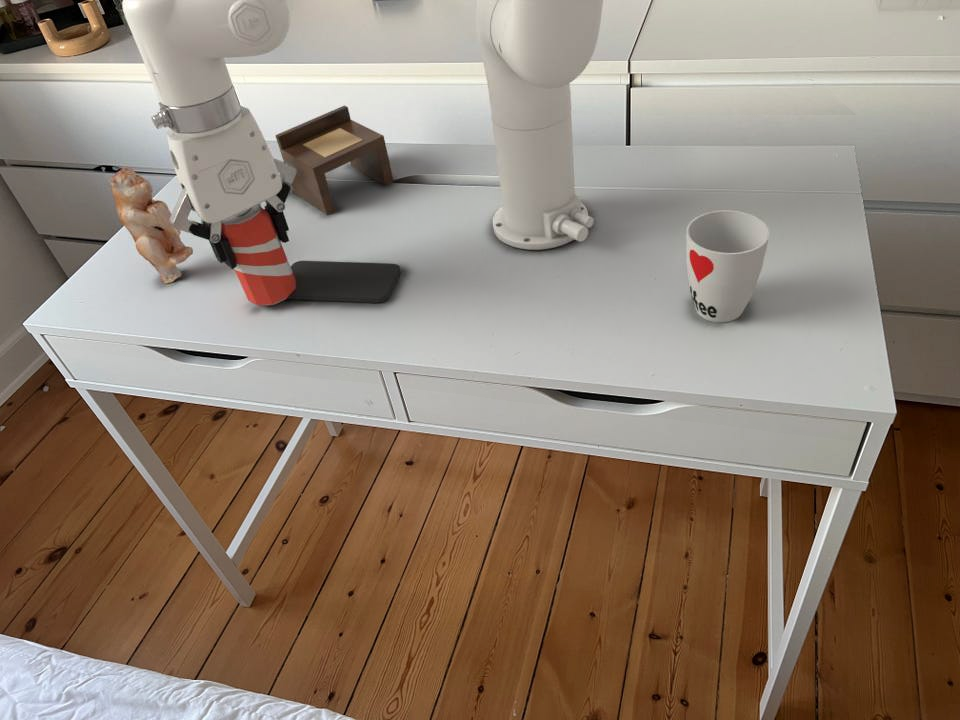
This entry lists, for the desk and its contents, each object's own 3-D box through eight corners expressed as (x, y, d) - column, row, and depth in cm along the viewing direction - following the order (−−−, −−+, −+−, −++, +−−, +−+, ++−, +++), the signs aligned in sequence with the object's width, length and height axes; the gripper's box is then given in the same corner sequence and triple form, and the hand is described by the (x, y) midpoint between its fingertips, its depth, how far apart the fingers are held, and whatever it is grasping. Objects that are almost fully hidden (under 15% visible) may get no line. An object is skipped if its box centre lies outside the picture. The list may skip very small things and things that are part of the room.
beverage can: (307, 282, 98) (275, 199, 91) (278, 312, 94) (242, 228, 87) (269, 277, 101) (235, 196, 93) (240, 306, 97) (202, 224, 89)
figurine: (189, 287, 102) (142, 186, 92) (139, 286, 104) (87, 187, 94) (210, 260, 106) (167, 161, 96) (161, 259, 108) (115, 162, 98)
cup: (673, 291, 88) (677, 216, 82) (743, 281, 88) (753, 205, 82) (693, 336, 82) (699, 259, 76) (769, 325, 82) (782, 247, 76)
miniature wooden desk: (394, 181, 116) (380, 122, 110) (326, 215, 111) (309, 155, 105) (358, 162, 123) (344, 105, 116) (293, 193, 118) (274, 135, 111)
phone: (384, 299, 93) (272, 294, 96) (386, 304, 93) (274, 299, 97) (402, 263, 98) (294, 259, 102) (403, 268, 99) (296, 265, 102)
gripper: (137, 150, 75) (203, 296, 87) (291, 89, 82) (332, 231, 94) (111, 130, 80) (177, 271, 92) (259, 73, 87) (302, 211, 99)
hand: (255, 249), depth 93 cm, fingers closed on beverage can, 6 cm apart
